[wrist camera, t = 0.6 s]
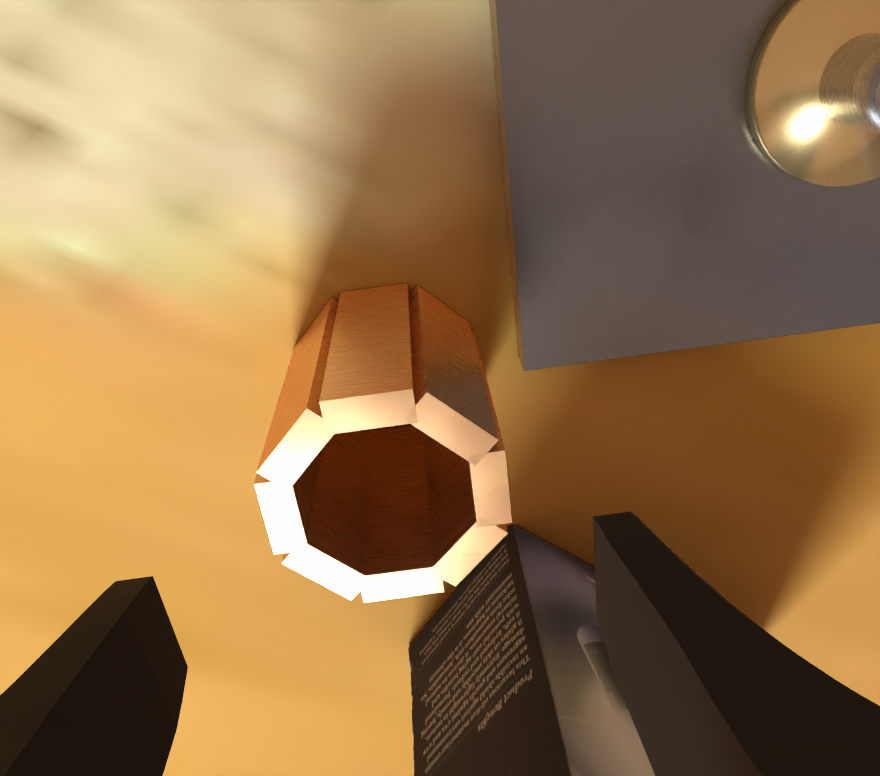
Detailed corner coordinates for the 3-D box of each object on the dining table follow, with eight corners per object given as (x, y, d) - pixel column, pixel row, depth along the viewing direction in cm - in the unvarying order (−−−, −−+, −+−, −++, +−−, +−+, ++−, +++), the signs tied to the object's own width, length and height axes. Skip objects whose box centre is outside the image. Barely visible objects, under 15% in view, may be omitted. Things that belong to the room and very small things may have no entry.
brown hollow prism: (468, 274, 19) (498, 377, 13) (485, 437, 21) (517, 582, 15) (279, 299, 19) (234, 412, 13) (317, 459, 21) (290, 612, 15)
